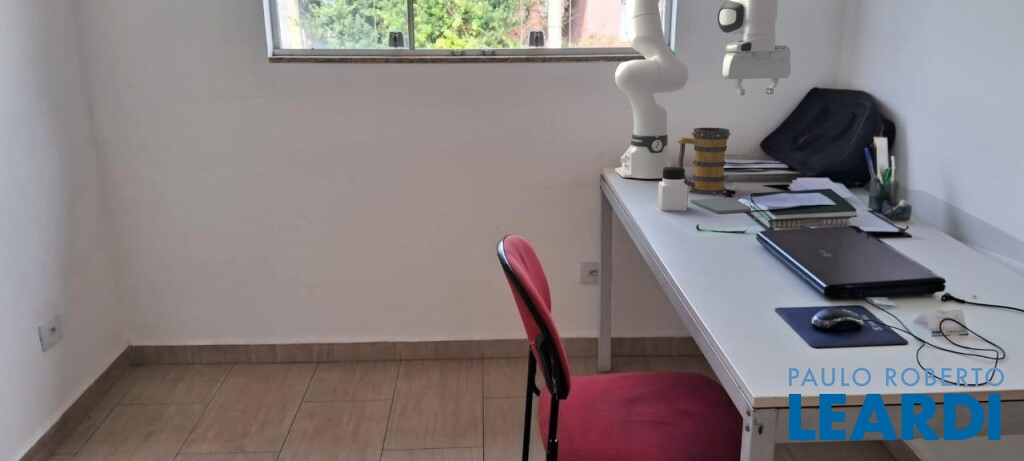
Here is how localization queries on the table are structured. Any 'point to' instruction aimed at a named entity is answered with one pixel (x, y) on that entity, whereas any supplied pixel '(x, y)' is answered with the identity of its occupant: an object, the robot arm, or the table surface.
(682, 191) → the medicine bottle
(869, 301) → the table surface
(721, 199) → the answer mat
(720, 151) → the mug
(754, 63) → the robot arm
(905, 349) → the table surface
